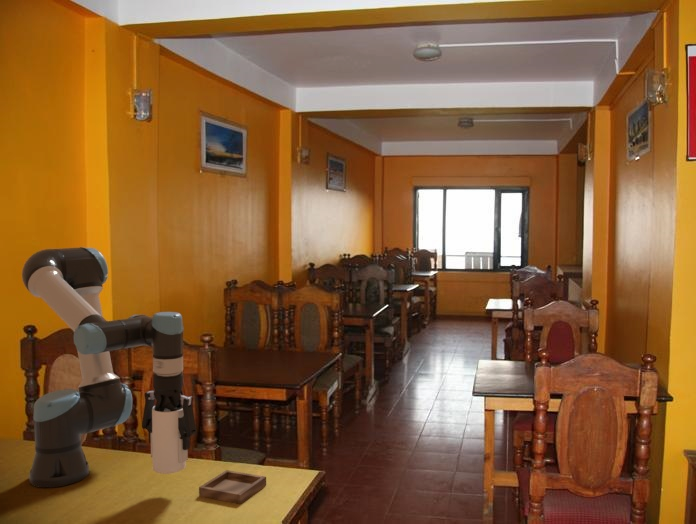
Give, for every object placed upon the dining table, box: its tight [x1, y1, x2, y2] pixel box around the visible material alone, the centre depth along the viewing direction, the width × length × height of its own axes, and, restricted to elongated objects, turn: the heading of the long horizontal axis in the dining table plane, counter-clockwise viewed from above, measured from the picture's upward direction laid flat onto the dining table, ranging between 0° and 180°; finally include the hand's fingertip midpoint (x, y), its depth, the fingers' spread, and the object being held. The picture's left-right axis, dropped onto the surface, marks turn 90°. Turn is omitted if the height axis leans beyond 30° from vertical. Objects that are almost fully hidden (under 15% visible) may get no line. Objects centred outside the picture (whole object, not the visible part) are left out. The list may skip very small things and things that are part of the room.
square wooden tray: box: [198, 469, 267, 505], centre depth 171 cm, size 12×12×2 cm
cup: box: [152, 405, 187, 475], centre depth 170 cm, size 8×8×16 cm
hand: (169, 458), depth 170 cm, fingers closed on cup, 8 cm apart
